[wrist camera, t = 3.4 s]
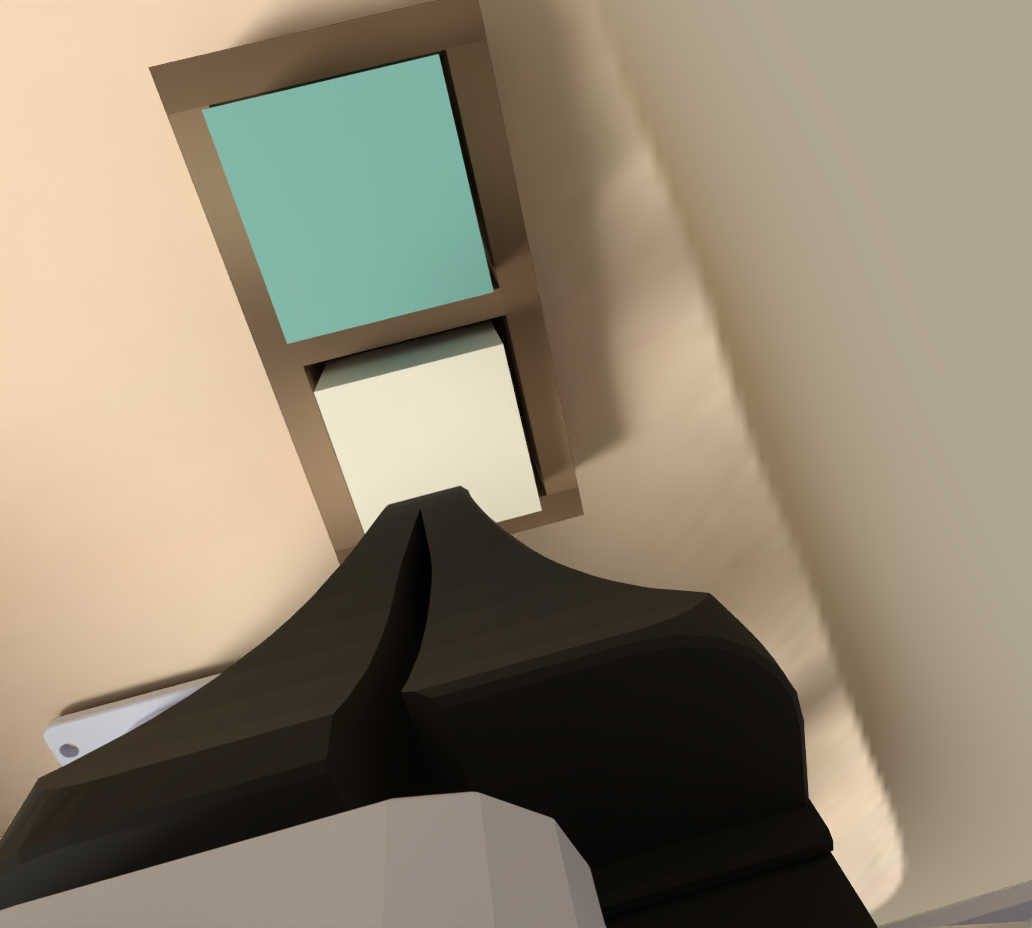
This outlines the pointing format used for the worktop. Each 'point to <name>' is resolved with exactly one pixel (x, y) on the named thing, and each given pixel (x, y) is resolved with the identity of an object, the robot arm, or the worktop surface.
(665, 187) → the worktop surface
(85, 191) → the worktop surface
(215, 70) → the board
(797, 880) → the robot arm
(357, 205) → the teal key
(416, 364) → the ivory key
